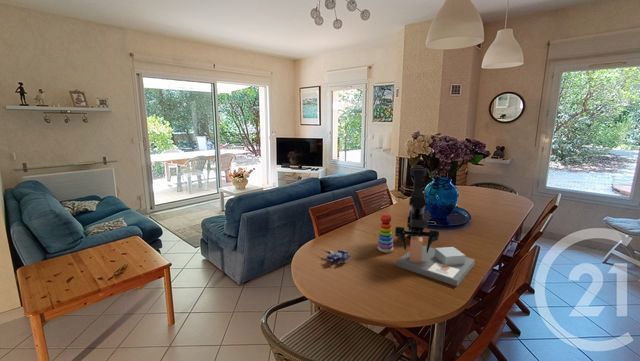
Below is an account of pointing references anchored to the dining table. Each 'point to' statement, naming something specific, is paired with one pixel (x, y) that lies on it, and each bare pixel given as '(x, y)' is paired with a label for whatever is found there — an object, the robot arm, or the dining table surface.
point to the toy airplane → (337, 256)
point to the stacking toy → (385, 235)
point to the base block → (449, 256)
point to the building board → (436, 267)
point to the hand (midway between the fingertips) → (416, 251)
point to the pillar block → (416, 249)
